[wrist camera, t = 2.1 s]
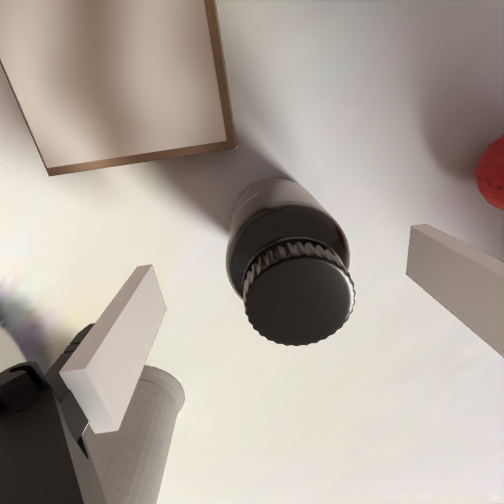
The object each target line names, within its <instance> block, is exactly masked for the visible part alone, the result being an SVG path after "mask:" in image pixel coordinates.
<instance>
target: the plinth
mask: <svg viewBox="0 0 504 504" xmlns="http://www.w3.org/2000/svg"><path fill="white" fill-rule="evenodd" d="M0 63H1V66H2V68H3V70H4V73H5V75H6V77H7V80H8V82H9V84H10V86H11V89H12V91H13V93H14V96H15V98H16V100H17V103H18V105H19V107H20V110H21V112H22V114H23V117H24V119H25V121H26V124H27V126H28V128H29V131H30V133H31V135H32V138H33V140H34V142H35V145H36V147H37V149H38V152H39V154H40V156H41V159H42V161H43V163H44V166H45V168H46V170H47V173H48V175H49V176H55V175H61V174H68V173H75V172H81V171H88V170H94V169H101V168H107V167H114V166H121V165H127V164H134V163H140V162H147V161H154V160H160V159H167V158H173V157H180V156H186V155H193V154H200V153H206V152H213V151H219V150H226V149H233V148H236V147H237V141H236V134H235V127H234V121H233V114H232V107H231V101H230V94H229V88H228V81H227V74H226V68H225V61H224V55H223V48H222V41H221V35H220V28H219V21H218V15H217V8H216V2H215V0H0Z"/></svg>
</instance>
